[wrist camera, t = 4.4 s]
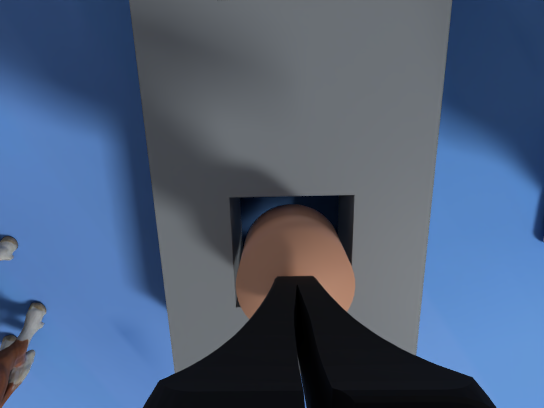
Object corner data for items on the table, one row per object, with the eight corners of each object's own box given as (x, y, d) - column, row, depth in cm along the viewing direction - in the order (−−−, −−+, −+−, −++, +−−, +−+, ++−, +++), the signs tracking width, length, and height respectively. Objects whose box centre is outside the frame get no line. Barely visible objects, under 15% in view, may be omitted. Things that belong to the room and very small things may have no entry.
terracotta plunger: (340, 203, 16) (357, 230, 12) (338, 291, 17) (352, 338, 13) (242, 205, 16) (232, 232, 12) (246, 292, 17) (238, 339, 13)
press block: (431, -233, 14) (488, -360, 10) (389, 324, 21) (414, 372, 17) (138, -218, 14) (88, -335, 11) (193, 326, 21) (175, 374, 18)
